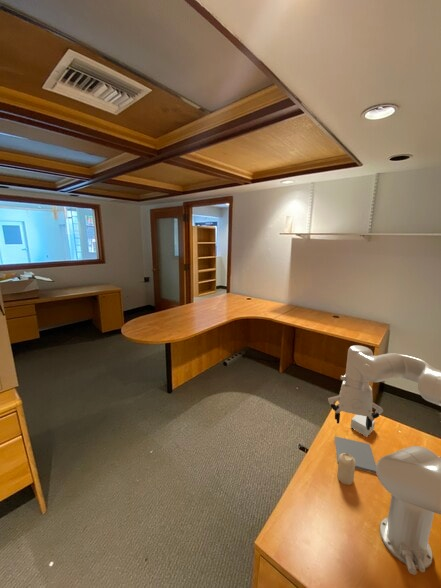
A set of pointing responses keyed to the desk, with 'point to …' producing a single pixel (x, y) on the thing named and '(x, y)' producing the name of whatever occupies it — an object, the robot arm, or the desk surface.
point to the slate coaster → (356, 453)
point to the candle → (346, 468)
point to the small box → (361, 425)
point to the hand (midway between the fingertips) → (352, 424)
